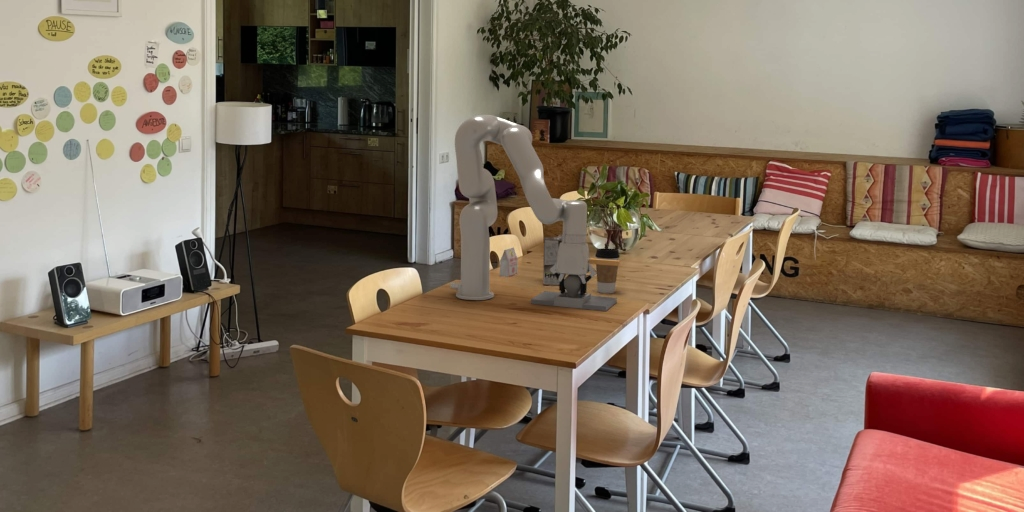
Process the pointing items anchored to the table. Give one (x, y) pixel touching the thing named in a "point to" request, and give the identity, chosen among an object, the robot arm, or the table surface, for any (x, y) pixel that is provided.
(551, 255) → the coffee box
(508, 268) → the red and white carton
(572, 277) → the light bulb
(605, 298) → the plate with square opening
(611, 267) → the coffee cup
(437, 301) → the table surface
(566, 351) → the table surface
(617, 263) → the long wooden bar
